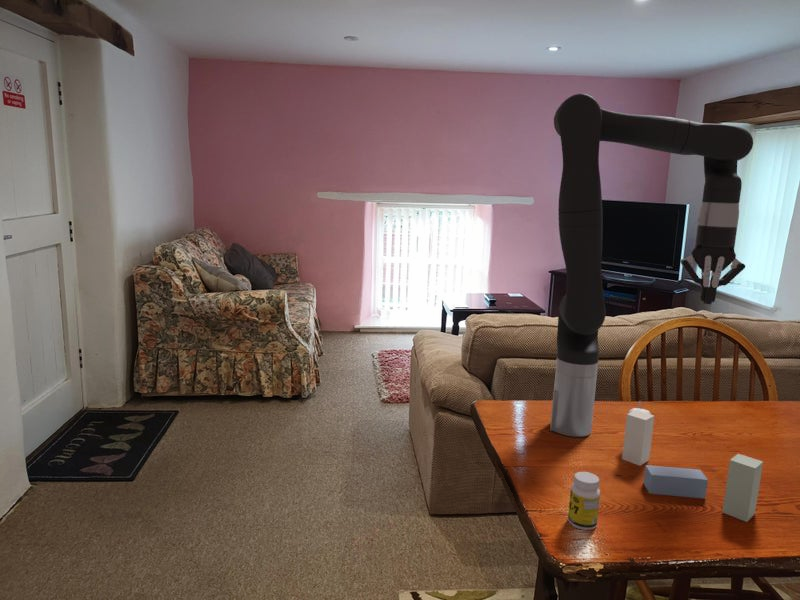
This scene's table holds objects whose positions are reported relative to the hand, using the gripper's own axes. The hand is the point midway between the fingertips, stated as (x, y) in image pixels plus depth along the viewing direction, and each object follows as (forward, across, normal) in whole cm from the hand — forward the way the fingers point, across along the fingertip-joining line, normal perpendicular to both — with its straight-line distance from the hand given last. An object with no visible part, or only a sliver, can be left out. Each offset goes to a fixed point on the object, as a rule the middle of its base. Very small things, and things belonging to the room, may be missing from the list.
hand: (706, 303), depth 130 cm
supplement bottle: (+32, -23, -45) cm, 60 cm away
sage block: (+32, +4, -32) cm, 45 cm away
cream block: (+32, -12, -16) cm, 38 cm away
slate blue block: (+30, -2, -26) cm, 40 cm away
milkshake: (+32, -12, -9) cm, 36 cm away
